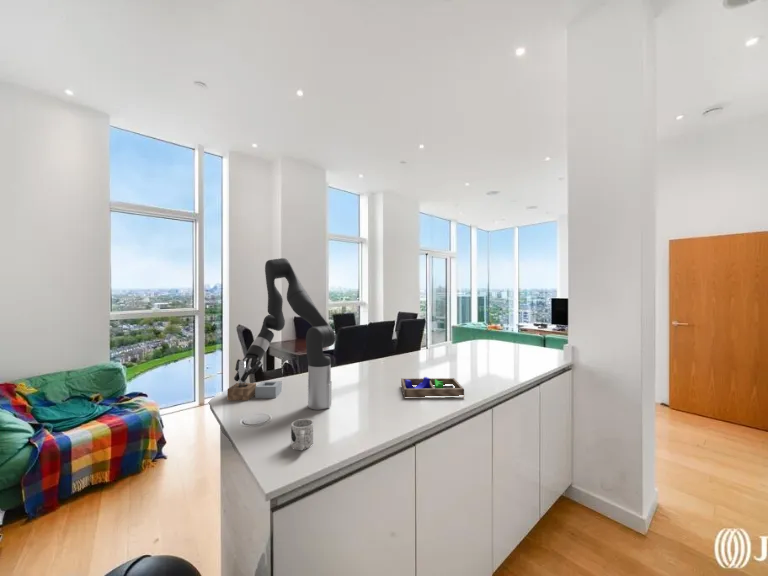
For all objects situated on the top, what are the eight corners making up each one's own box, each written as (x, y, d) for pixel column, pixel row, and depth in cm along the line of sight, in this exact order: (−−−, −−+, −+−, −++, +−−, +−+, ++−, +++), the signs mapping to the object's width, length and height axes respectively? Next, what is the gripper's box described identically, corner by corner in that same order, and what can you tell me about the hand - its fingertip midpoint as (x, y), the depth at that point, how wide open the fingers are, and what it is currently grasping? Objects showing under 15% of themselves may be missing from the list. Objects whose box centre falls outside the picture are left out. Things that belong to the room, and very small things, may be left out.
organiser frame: (454, 386, 159) (454, 378, 159) (464, 397, 141) (464, 389, 141) (401, 386, 159) (401, 378, 159) (404, 398, 141) (404, 389, 141)
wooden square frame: (256, 393, 146) (256, 383, 146) (248, 400, 137) (248, 388, 137) (236, 393, 146) (236, 383, 146) (227, 400, 137) (227, 389, 137)
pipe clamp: (443, 396, 145) (443, 386, 145) (435, 395, 145) (435, 385, 145) (442, 388, 156) (442, 379, 156) (434, 388, 156) (434, 379, 156)
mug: (291, 440, 100) (291, 419, 100) (313, 438, 101) (313, 418, 101) (289, 456, 90) (289, 433, 90) (313, 454, 92) (313, 431, 92)
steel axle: (246, 395, 143) (247, 360, 144) (244, 398, 140) (244, 362, 141) (240, 396, 143) (240, 360, 143) (237, 398, 140) (237, 362, 140)
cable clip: (424, 388, 155) (424, 376, 155) (429, 390, 151) (429, 378, 151) (403, 391, 149) (403, 379, 149) (408, 394, 145) (408, 381, 145)
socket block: (281, 391, 150) (281, 381, 150) (275, 397, 141) (275, 386, 141) (262, 391, 149) (262, 381, 149) (255, 398, 140) (255, 386, 140)
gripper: (242, 343, 151) (221, 374, 140) (266, 344, 147) (247, 377, 135) (250, 352, 156) (231, 383, 145) (273, 354, 152) (255, 386, 140)
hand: (239, 380), depth 140 cm, fingers closed on steel axle, 3 cm apart
